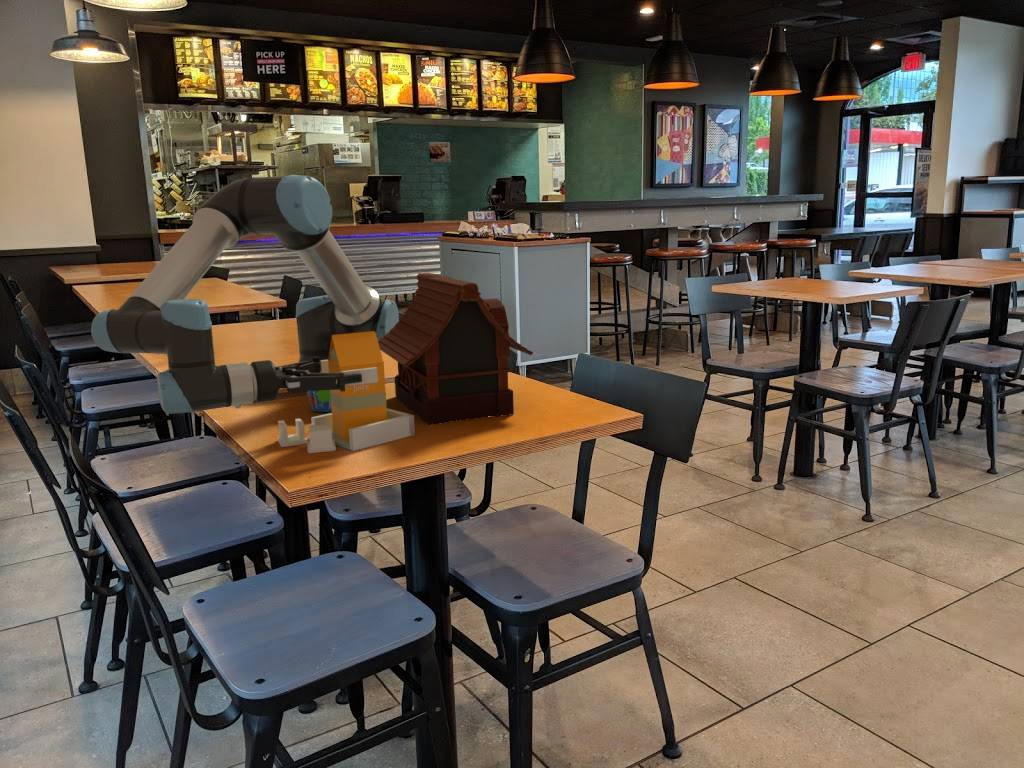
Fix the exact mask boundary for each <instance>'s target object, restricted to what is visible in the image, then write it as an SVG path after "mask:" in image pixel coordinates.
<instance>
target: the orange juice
mask: <svg viewBox="0 0 1024 768" xmlns="http://www.w3.org/2000/svg"><path fill="white" fill-rule="evenodd" d="M374 367H376V368H377V374H378V382H375V383H367V384H360V385H352V386H345V391H341V390H330V398H331V408H332V412H331V413H332V421H333V433H334V434H336V435H337V436H338V437H339V438H341V439H342V440H343V441H345V442H346V441H349V429H351V428H355V427H359V426H363V425H367V424H372V423H376V422H380V421H384V420H387V409H386V408H387V404H388V403H387V391H386V381H385V380H386V378H385V361H384V359H383V355H382V351H381V350H380V348H379V344H378V340H377V337H376V333H375V331H370V332H359V333H349V334H338V335H332V338H331V345H330V352H329V359H328V368H329V373H342V371H349V370H357V369H366V368H374ZM336 383H337V379H336Z"/></svg>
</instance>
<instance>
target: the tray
mask: <svg viewBox="0 0 1024 768" xmlns="http://www.w3.org/2000/svg"><path fill="white" fill-rule="evenodd" d="M386 409H387V420H384V421H380V422H376V423H372V424H367V425H363V426H359V427H355V428H351V429H349V441H346V442H345V441H343V440H342V439H341V438H339V437H338V436H337V435H336V434H334V433H333V421H332V412H328V413H326V414H319V415H317V416H312V417H311V416H310V417H311V426H313V425H324V424H331V431H332V440H333V439H334V440H335V446H339V447H341V448H344V449H347V450H349V451H353V452H356V451H359V449H360V450H362V449H366V448H370V447H374V446H378V445H382V444H385V443H389V442H392V441H397V440H401V439H404V438H407V437H408V438H409V437H412V436H415V435H416V432H415V428H416V427H415V415H414V414H410V413H408V412H407V413H406V412H404V411H399V410H395V409H391V408H388V407H386Z"/></svg>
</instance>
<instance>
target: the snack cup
mask: <svg viewBox="0 0 1024 768" xmlns="http://www.w3.org/2000/svg"><path fill="white" fill-rule="evenodd" d="M319 363H320V362H319ZM320 373H321V371H320ZM306 394H307V398H308V402H309V407H310V409H311V410H312V411H313V412H316V413H332V408H331V398H330V390H314V391H306Z"/></svg>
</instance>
